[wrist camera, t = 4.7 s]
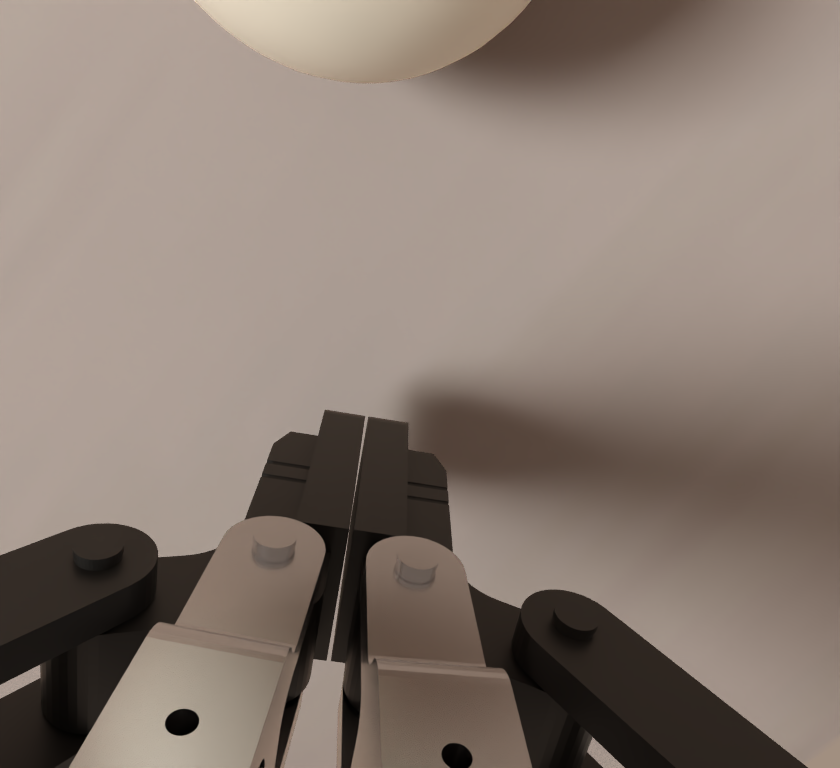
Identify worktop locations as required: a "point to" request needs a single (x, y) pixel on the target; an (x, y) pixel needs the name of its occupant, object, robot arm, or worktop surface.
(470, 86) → the worktop surface
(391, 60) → the ivory ball
